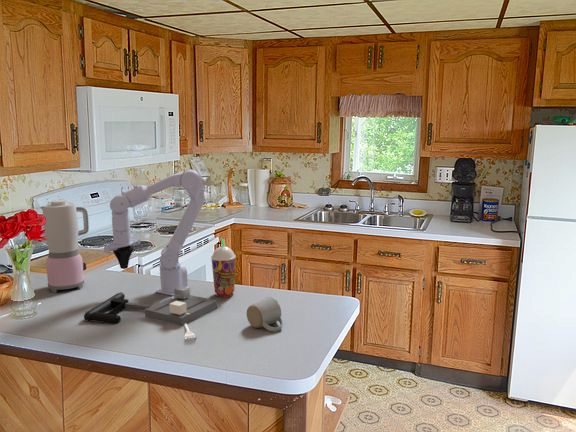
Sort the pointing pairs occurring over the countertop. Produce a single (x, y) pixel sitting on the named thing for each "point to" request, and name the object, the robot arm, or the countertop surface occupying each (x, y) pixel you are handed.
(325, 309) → the countertop surface
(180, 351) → the countertop surface
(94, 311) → the gun
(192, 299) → the gray slider board
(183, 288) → the steel fader
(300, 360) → the countertop surface
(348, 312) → the countertop surface
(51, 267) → the blender
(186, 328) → the fork
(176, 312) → the block
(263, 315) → the ceramic mug
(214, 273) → the smoothie
